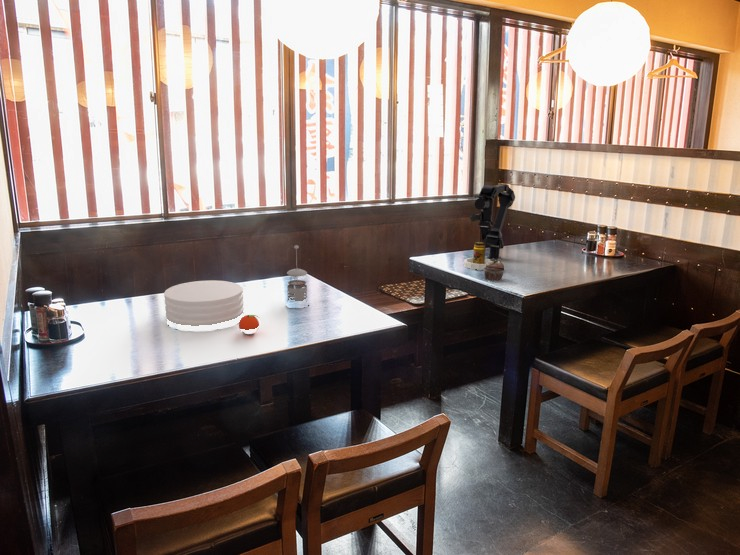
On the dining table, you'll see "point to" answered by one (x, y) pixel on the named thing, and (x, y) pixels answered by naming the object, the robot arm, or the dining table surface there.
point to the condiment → (479, 253)
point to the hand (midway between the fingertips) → (483, 238)
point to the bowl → (475, 266)
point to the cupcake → (494, 270)
